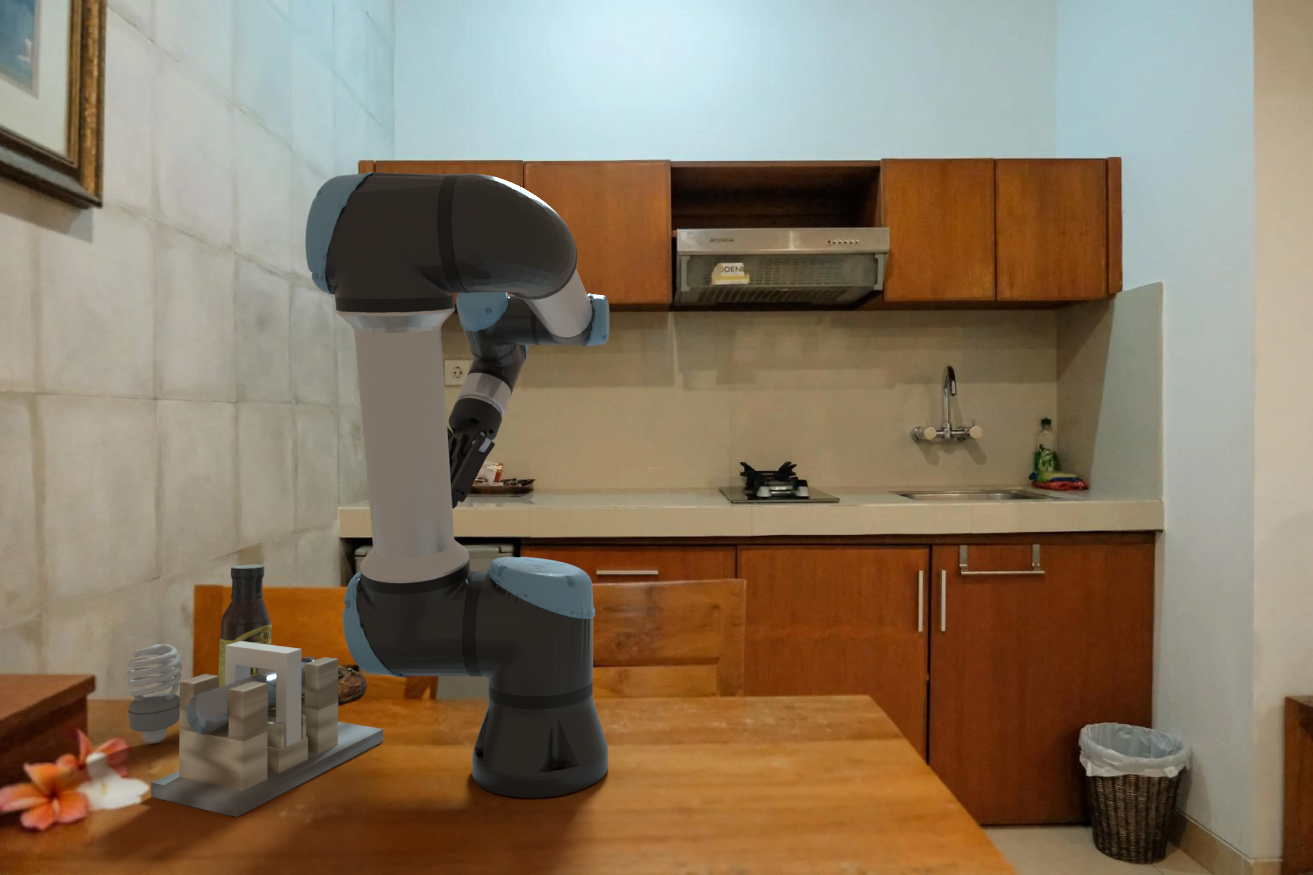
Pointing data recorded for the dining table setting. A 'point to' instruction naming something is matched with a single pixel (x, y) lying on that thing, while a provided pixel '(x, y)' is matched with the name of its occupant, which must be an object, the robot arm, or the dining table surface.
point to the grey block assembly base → (260, 745)
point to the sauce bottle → (244, 614)
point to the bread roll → (350, 684)
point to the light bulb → (158, 708)
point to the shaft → (214, 705)
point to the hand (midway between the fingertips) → (425, 547)
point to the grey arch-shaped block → (287, 679)
